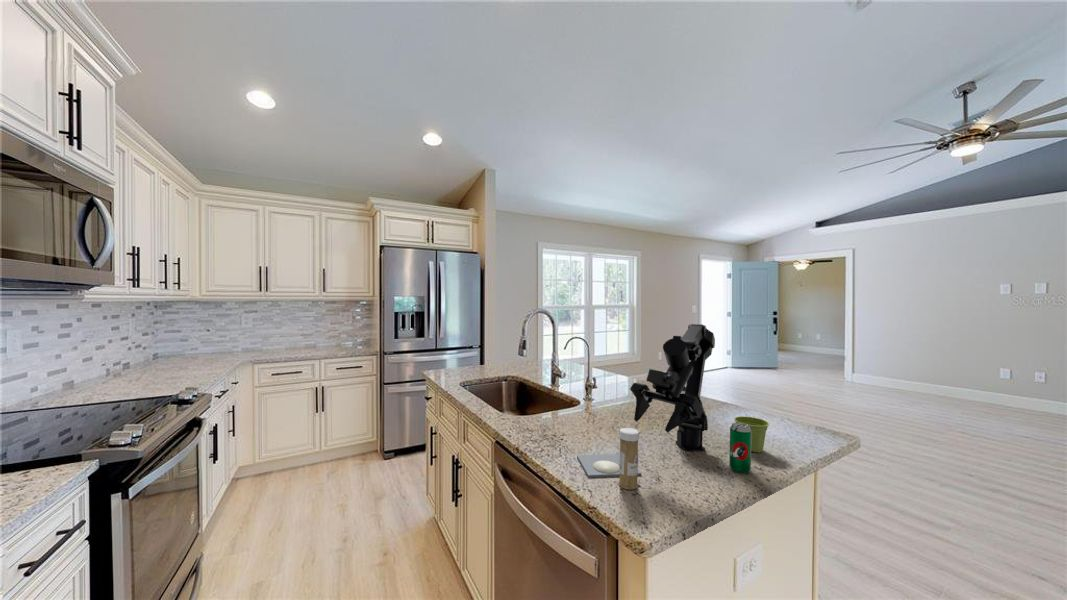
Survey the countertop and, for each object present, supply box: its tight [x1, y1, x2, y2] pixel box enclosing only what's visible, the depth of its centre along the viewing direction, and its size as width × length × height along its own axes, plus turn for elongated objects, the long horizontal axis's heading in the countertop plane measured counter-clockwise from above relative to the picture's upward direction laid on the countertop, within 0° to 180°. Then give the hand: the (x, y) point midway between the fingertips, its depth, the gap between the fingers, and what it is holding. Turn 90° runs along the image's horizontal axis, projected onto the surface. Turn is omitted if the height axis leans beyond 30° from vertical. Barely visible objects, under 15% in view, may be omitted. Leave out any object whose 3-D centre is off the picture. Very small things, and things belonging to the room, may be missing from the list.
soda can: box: [728, 422, 752, 474], centre depth 99 cm, size 5×5×12 cm
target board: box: [576, 453, 642, 478], centre depth 100 cm, size 14×12×1 cm
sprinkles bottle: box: [618, 427, 640, 491], centre depth 90 cm, size 5×5×14 cm
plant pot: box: [733, 415, 770, 453], centre depth 114 cm, size 9×9×9 cm
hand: (650, 425), depth 94 cm, fingers open, 9 cm apart
